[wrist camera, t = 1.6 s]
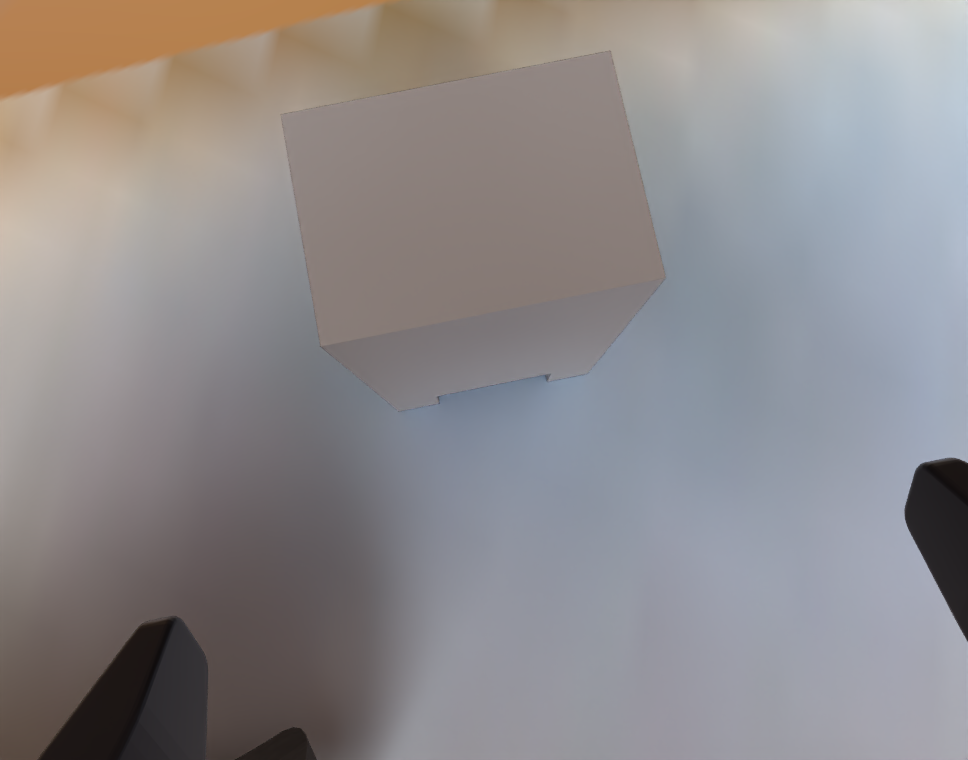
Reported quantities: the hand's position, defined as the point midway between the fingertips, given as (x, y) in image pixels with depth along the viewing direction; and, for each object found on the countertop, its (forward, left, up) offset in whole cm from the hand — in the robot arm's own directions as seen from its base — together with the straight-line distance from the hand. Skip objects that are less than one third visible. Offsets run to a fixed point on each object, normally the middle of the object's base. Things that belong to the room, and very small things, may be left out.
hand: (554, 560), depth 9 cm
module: (+5, +2, -12) cm, 14 cm away
